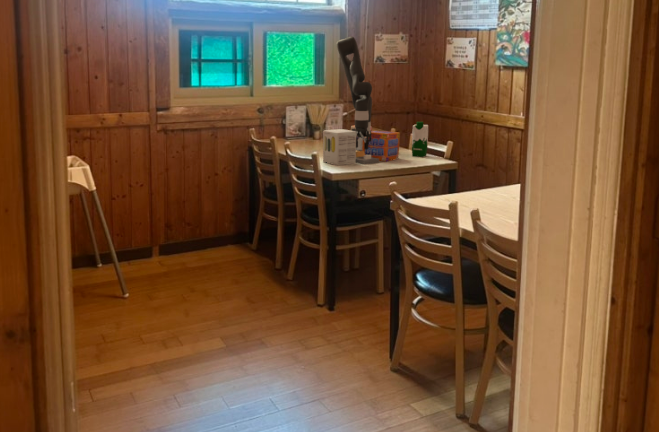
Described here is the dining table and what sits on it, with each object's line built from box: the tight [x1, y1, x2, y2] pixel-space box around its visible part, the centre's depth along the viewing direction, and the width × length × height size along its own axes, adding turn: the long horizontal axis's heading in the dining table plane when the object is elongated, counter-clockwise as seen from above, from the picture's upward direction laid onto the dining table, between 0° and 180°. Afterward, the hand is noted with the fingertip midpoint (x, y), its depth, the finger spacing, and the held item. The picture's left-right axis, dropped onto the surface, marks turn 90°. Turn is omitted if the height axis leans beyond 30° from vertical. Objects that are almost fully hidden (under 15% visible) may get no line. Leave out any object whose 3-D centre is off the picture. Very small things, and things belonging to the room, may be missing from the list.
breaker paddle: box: [356, 150, 365, 157], centre depth 394 cm, size 5×2×3 cm, turn 128°
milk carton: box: [411, 121, 429, 158], centre depth 413 cm, size 9×9×20 cm
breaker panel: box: [355, 155, 380, 165], centre depth 394 cm, size 11×18×4 cm, turn 38°
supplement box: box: [322, 128, 357, 166], centre depth 387 cm, size 13×13×18 cm
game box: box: [361, 130, 401, 163], centre depth 402 cm, size 16×16×16 cm
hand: (361, 148), depth 393 cm, fingers open, 8 cm apart
